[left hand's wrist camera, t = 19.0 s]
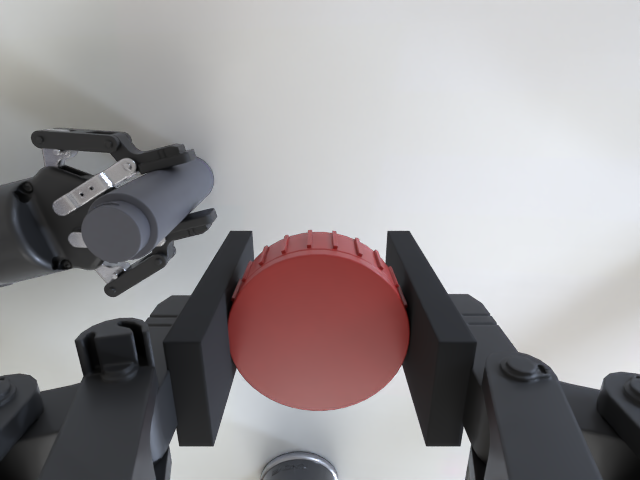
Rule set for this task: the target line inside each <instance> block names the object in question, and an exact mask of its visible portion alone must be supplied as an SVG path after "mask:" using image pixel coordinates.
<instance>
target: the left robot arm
mask: <svg viewBox="0 0 640 480" xmlns="http://www.w3.org/2000/svg"><path fill="white" fill-rule="evenodd" d="M250 260H251V261H252V262H253V261H254V252H253V236H252V231H230V232H229V234H228V236H227V237H226V239H225V241H224V242H223V244H222V246H221V247H220V249H219V250H218V252H217V254H216V255H215V257H214V259H213V260H212V262H211V264H210V265H209V267H208V268H207V270H206V272H205V273H204V275H203V277H202V278H201V280H200V282H199V283H198V285H197V286H196V288H195V290H194V291H193V293H192V295H172V296H170V297H169V298H167V299H166V300H164V301H163V302H161V303H160V304H158V305H157V307H156V308H155V309H154V311H153V312H152V313H151V315H150V318H148V319H147V320H146V321H145V322H144V321H143V320H139V319H135V318H118V319H113V320H108V321H104V322H102V323H99V324H97V325H94V326H92V327H90V328H89V329H87V330H85V331H84V332H82V333H81V334H80V335H79V336H78V337H77V339H76V340H75V344H76V348H77V352H78V356H79V360H80V364H81V368H82V372H83V379H82V381H81V383H78V384H74V385H70V386H66V387H61V388H56V389H51V390H46V391H41V392H40V390H39V387H38V384H37V380H35V379H34V378H33V377H32V376H30V375H25V374H12V375H4V376H0V480H170V473H171V464H172V461H171V454H170V448H169V444H170V441H171V439H172V437H173V434H174V432H175V429H177V435H178V441H179V446H214V443H215V440H216V436H217V433H218V430H219V426H220V423H221V419H222V416H223V413H224V409H225V406H226V402H227V399H228V395H229V392H230V389H231V385H232V382H233V378H234V375H235V372H236V368H237V367H236V366H235V364H234V362H233V359H232V357H231V354H230V344H229V334H228V316H229V312H230V309H231V307H232V304H233V301H231V298H232V296H233V293H234V291H235V288H236V286H237V284H238V281H239V279H242V278H243V275H244V273H245V270H246V268H247V265H248V263H249V262H250ZM386 265H387V266H388V267H389V266H391V267H392V269H393V272H394V274H395V277H396V279H397V282H398V284H399V285H400V287H401V290H402V292H403V295H404V297H405V300H406V302H407V305H408V308H406V311H407V314H408V319H409V324H410V339H409V346H408V350H407V354H406V356H405V359H404V361H403V363H402V366H403V369H404V373H405V376H406V379H407V383H408V386H409V390H410V393H411V396H412V400H413V403H414V407H415V410H416V413H417V417H418V420H419V424H420V427H421V430H422V434H423V437H424V441H425V444H426V446H461V440H462V433H463V427H464V428H465V430H466V433H467V435H468V437H469V440H470V442H471V448H470V454H469V460H468V466H467V471H466V477H465V480H640V374H636V373H627V372H617V373H610V374H609V375H607V376H606V377H605V378H604V379H603V383H602V386H601V389H600V390H598V389H593V388H588V387H583V386H578V385H573V384H569V383H565V382H561V381H559V380H558V378H557V376H556V374H555V373H554V372H553V370H552V369H551V368H550V367H549V366H548V365H546V364H545V363H543V362H542V361H541V360H539V359H537V358H535V357H532V356H530V355H528V354H524V353H520V352H518V351H517V350H516V348H515V347H514V346H513V344H512V343H511V342H510V340H509V339H508V338H507V336H506V335H505V334H504V332H503V331H502V329H501V328H500V327H499V325H497V323H496V321H495V320H494V319H493V317H492V316H490V313H489V312H488V311H487V309H486V308H485V307H484V305H483V304H482V303H481V302H479V301H478V300H476V299H475V298H473V297H472V296H470V295H468V294H448V293H447V292H446V290H445V288H444V287H443V285H442V284H441V282H440V280H439V279H438V277H437V275H436V274H435V272H434V271H433V269H432V267H431V266H430V264H429V262H428V261H427V259H426V257H425V256H424V254H423V253H422V251H421V249H420V248H419V246H418V244H417V243H416V241H415V239H414V238H413V236H412V235H411V233H410V231H388V232H387V248H386Z"/></svg>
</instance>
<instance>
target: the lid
mask: <svg viewBox="0 0 640 480" xmlns="http://www.w3.org/2000/svg"><path fill="white" fill-rule="evenodd" d="M231 301H233V304H232V307H231V309H230V312H229V316H228V334H229V344H230V354H231V357H232V359H233V362H234V364H235V366H236V367H237V369H238V371H239V372H240V374H241V375H242V376H243V377H244V379H245V380H246V381H247V382H248V383H249V384H250V385H251V386H252V387H253V388H255V389H256V390H257V391H258V392H260V393H261V394H263V395H264V396H266V397H268V398H269V399H271V400H273V401H276V402H278V403H280V404H283V405H286V406H289V407H292V408H297V409H302V410H312V411H325V410H335V409H340V408H345V407H348V406H351V405H354V404H357V403H359V402H361V401H364V400H366V399H368V398H369V397H371V396H373V395H374V394H376V393H377V392H378V391H380V390H381V389H382V388H384V387H385V386H386V385H387V384H388V383H389V382H390V381H391V380H392V378H393V377H394V376H395V375H396V373H397V372H398V370H399V369H400V367H401V365H402V363H403V361H404V359H405V356H406V354H407V350H408V346H409V339H410V324H409V319H408V314H407V311H406V308H408V305H407V302H406V300H405V297H404V295H403V292H402V290H401V287H400V285H399V284H398V282H397V279H396V277H395V274H394V272H393V269H392V267H391V266H389V267H388V266H387V265H386V264H385V262H384V261H383V260H382V259H381V258H380V256H379V253H378V251H377V250H375V251H373V250H371V249H370V248H369V247H367V246H366V245H364V244H362V243H361V242H360V241H359V239H358V238H355V239H352V238H349V237H347V236H343V235H339V234H337V233H336V231H332V233H328V232H312V230H308V233H301V234H297V235H293V236H290V237H289V236H288V235H286V236H285V237H284V239H282V240H280V241H278V242H276V243H275V244H273V245H271V246H270V247H268V246H265V247H264V249H263V252H262V253H261V254H260V255H259V256H258V257H257V258H256V259H255V260H254V261H253V262H252V261H251V260H250V262H249V263H248V265H247V268H246V270H245V273H244V275H243V278H242V279H239V281H238V284H237V286H236V288H235V291H234V293H233V296H232V298H231Z"/></svg>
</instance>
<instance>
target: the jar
mask: <svg viewBox="0 0 640 480" xmlns="http://www.w3.org/2000/svg"><path fill="white" fill-rule="evenodd" d="M213 184H214V177H213V173H212V171H211V169H210V167H209V166H208V164H207V163H206V162H204V161H203V160H202V159H200V158H198V157H196V159H194V160H192V161H190V162H187V163H184V164H180V165H176V166H172V167H168V168H164V169H160V170H156V171H152V172H149V173H147V174H145V175H143V176H141V177H139V178H137V179H135V180H133V181H131V182H129V183H127V184H125V185H123V186H121V187H119V188H117V189H115V190H113V191H111V192H109V193H107V194H105V195H103V196H101V197H99V198H98V199H96V200H95V201H94V202H93V204H92V205H91V206H90V208H89V210H88V213H87V215H86V216H85V218H84V220H83V223H82V227H81V234H82V238H83V241H84V243H85V245H86V247H87V248H88V249H89V250H90V251H91V252H92V253H93V254H94V255H95V256H97V257H98V258H100V259H101V260H103V261H106V262H109V263H115V264H118V262H124V261H127V260H134V259H138V258H141V257H143V256H145V255H147V254H148V253H149V252H150V251H152V250H153V249H154V248H155V247H156V246H157V245H158V244H159V243H160V242H161V241H162V240H163V239H164V238H165V237H166V236H167V235H168V234H169V233H170V232H171V231H172V230H173V229H174V228H175V227H176V226H177V225H178V224H179V223H180V222H181V221H182V220H183V219H184V218H185V217H186V216H187V215H188V214H189V213H190V212H191V211H192V210H193V209H194V208H195V207H196V206H197V205H198V204H199V203H200V202H201V201H202V200H203V199H204V198H205V197H206V196H207V195H208V194H209V193H210V192H211V190H212V188H213Z"/></svg>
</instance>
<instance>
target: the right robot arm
mask: <svg viewBox="0 0 640 480" xmlns="http://www.w3.org/2000/svg"><path fill="white" fill-rule="evenodd" d="M31 140H32V143H33V144H34V145H35V146H36V147H38V148H42V152H43V158H44V164H45V167H44V168H42V169H41V170H39V172H38V173H37V174H36V175H35V176H34V177H32V178H28V179H24V180H20V181H16V182H13V183H9V184H5V185H1V186H0V287H4V286H7V285H11V284H13V283H15V282H19V281H23V280H27V279H31V278H35V277H40V276H44V275H48V274H52V273H56V272H60V271H65V270H68V269H72V268H81V269H85V270H95V271H96V272H97V273H98V274H99V275H100V276H101V278H102V279H103V280H104V281H105V282H106V283H107V285H106V286H105V287H104V291H105V293H106V294H107V295H108V296H110V297H116V296H118V295H119V294H121V293H123V292H124V291H126V290H127V289H129V288H131V287H132V286H134V285H136V284H137V283H139V282H141V281H142V280H144V279H145V278H147V277H149V276H150V275H152V274H154V273H155V272H157V271H159V270H160V269H162V268H163V267H165V265H166V264H167V263H168V261H169V260H170V259H171V258H172V257H173V256H174V255H175V253H176V249H175V247H174V246H173V241H174V240H178V239H182V238H186V237H190V236H194V235H199V234H203V233H204V232H205V231H207V230H208V229H209V228H210V226H211V225H212V222H213V221H214V220H215V219H216V218H217V215H216V212H215V209H214V208H211V209H207V210H202V211H198V212H194V213H190V214H188V215H187V216H186V217H185V218H184V219H183V220H182V221H181V222H180V223H179V224H178V225H177V226H176V227H175V228H174V229H173V230H172V231H171V232H170V233H169V234H168V235H167V236H166V237H165V238H164V239H163V240H162V241H161V242H160V243H159V244H158V245H157V246H156V247H155V248H154V249H153V250H152V252H151V253H150V254H148V255H147V256H145V257H143V258H142V259H140V260H139V261H137V262H135V263H134V264H132V265H131V266H130V264H129V263H128V262H119V263H118V264H115V263H109V262H106V261H103V260H101V259H100V258H98V257H97V256H95V255H94V254H93V253H92V252H91V251H90V250H89V249H88V248H87V247H86V245H85V243H84V241H83V238H82V234H81V227H82V223H83V220H84V218H85V216H86V215H87V213H88V210H89V208H90V206H91V205H92V204H93V202H94V201H95V200H96V199H98V198H99V197H101V196H103V195H105V194H107V193H109V192H111V191H113V190H115V189H116V187H117V186H118V185H120V184H121V183H123V182H125V181H126V180H128V179H129V178H130V177H132V176H133V175H135V174H137V173H138V172H141V174H145V173H149V172H152V171H156V170H160V169H164V168H168V167H172V166H176V165H180V164H184V163H187V162H190V161H192V160H194V159H196V155H195V153H194V150H193V149H191V150H187V151H186V150H185V147H184V145H183V144H173V145H169V146H165V147H162V148H158V149H154V150H150V151H145V152H144V151H140V150H138V149H137V148H136V147H135V146H134V145H133V143H132V139H131V137H130V136H129V135H128V134H127V133H125V132H114V131H99V130H84V129H69V128H53V129H47V130H40V131H35V132H33V133H32V135H31ZM78 151H90V152H106V153H111V155H112V156H113V157H114V158H115V159H116V161H117V163H115V164H114V165H112V166H111V167H109V168H108V169H106V170H104V171H103V172H101V173H99V174H97V175H95V176H94V175H91V174H88V173H86V172H83V171H80V170H77V169H75V168H72V167H69V166H67V165H64V162H65V160H66V159H67V158H71V157H74V156H76V154H77V152H78ZM261 480H338V476H337V473H336V470H335V469H334V467H333V466H332V465H331V464H330V463H329V462H328V461H327V460H325V459H324V458H322V457H320V456H318V455H315V454H312V453H306V452H292V453H287V454H284V455H281V456H278V457H276V458H275V459H273V460H272V461H271V462H269V463H268V464H267V465H266V467H265V468H264V470H263V472H262V475H261Z"/></svg>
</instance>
